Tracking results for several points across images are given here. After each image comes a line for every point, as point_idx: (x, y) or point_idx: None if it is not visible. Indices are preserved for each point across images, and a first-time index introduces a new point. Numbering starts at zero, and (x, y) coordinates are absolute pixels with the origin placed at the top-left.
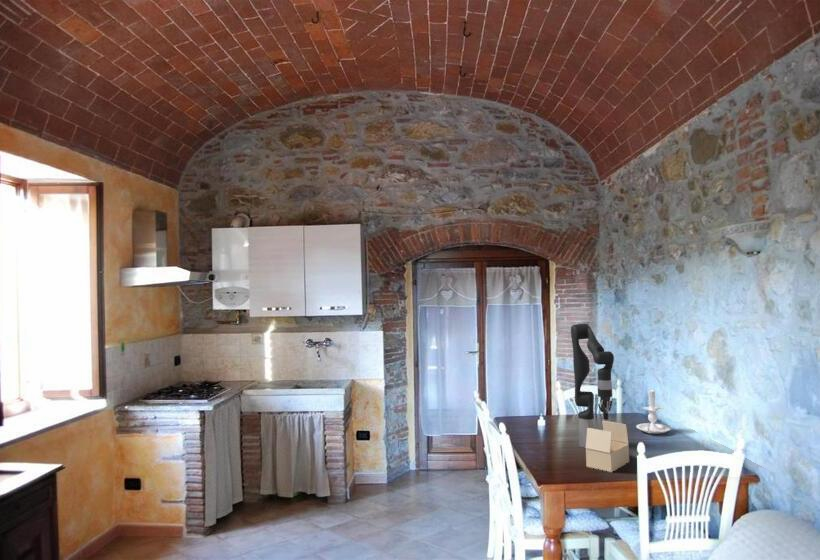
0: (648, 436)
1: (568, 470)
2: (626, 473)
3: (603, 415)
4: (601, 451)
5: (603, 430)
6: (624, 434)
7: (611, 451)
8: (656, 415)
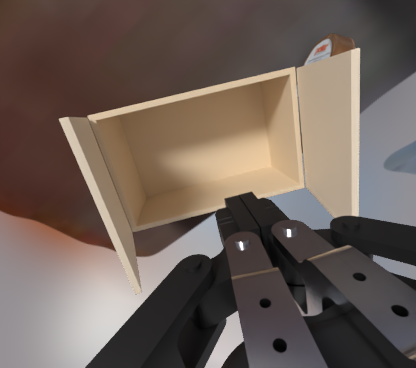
0: None
1: (20, 96)
2: (178, 226)
3: (232, 215)
4: (120, 193)
5: (115, 248)
6: (321, 191)
7: (272, 109)
8: None
